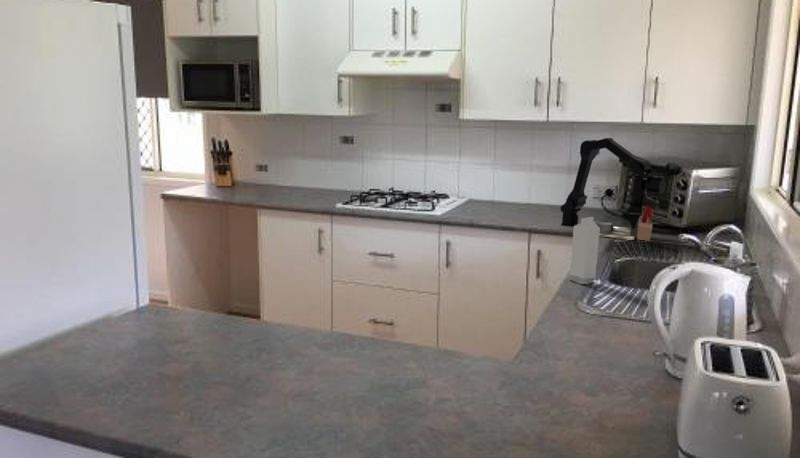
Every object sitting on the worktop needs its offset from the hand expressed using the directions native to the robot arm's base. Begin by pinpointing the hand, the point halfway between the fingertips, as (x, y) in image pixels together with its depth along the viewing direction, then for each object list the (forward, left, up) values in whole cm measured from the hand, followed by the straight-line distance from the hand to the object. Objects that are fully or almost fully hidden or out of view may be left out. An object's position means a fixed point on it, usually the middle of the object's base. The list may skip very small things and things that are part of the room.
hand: (634, 226), depth 287 cm
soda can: (+2, +19, -5) cm, 20 cm away
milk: (-8, -73, -5) cm, 74 cm away
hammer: (-4, 0, -4) cm, 5 cm away
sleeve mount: (-11, 0, -5) cm, 12 cm away
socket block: (+4, 0, -5) cm, 7 cm away
